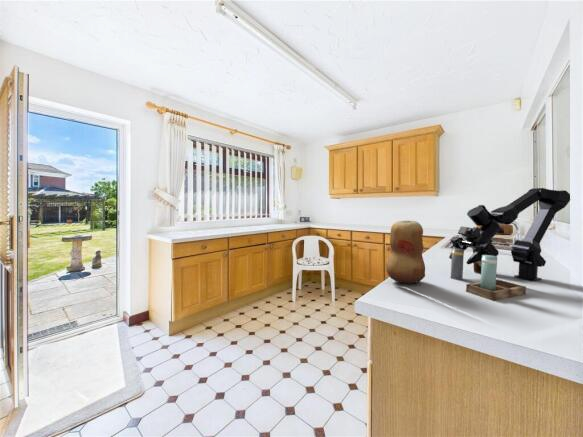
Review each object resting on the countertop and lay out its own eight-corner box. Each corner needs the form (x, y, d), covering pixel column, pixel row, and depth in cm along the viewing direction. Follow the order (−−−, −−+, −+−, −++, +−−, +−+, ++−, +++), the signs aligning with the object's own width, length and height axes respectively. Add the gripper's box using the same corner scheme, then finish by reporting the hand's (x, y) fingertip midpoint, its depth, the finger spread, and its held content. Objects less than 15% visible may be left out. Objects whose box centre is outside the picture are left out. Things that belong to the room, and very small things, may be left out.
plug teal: (485, 291, 86) (487, 254, 85) (498, 295, 82) (500, 257, 81) (477, 292, 84) (478, 255, 84) (490, 297, 81) (492, 257, 80)
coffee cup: (499, 275, 107) (501, 246, 106) (480, 275, 108) (481, 246, 107) (484, 270, 116) (485, 242, 115) (466, 270, 116) (467, 242, 115)
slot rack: (496, 288, 92) (497, 279, 91) (526, 297, 83) (527, 286, 83) (464, 294, 86) (465, 284, 86) (493, 304, 77) (493, 293, 77)
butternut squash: (383, 286, 94) (385, 221, 92) (387, 276, 106) (389, 218, 104) (425, 292, 87) (427, 222, 86) (424, 281, 99) (426, 220, 98)
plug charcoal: (455, 278, 103) (456, 248, 102) (464, 281, 99) (466, 249, 99) (448, 279, 102) (449, 248, 101) (457, 282, 98) (459, 250, 97)
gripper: (455, 218, 109) (430, 243, 109) (493, 221, 90) (463, 251, 90) (470, 235, 110) (446, 260, 110) (511, 242, 91) (482, 272, 91)
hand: (458, 260), depth 100 cm, fingers open, 9 cm apart
